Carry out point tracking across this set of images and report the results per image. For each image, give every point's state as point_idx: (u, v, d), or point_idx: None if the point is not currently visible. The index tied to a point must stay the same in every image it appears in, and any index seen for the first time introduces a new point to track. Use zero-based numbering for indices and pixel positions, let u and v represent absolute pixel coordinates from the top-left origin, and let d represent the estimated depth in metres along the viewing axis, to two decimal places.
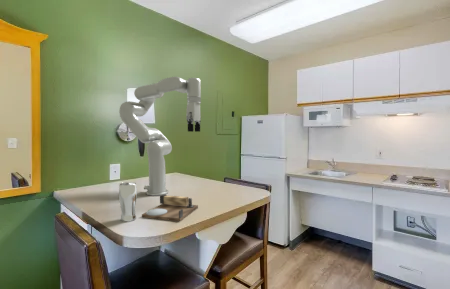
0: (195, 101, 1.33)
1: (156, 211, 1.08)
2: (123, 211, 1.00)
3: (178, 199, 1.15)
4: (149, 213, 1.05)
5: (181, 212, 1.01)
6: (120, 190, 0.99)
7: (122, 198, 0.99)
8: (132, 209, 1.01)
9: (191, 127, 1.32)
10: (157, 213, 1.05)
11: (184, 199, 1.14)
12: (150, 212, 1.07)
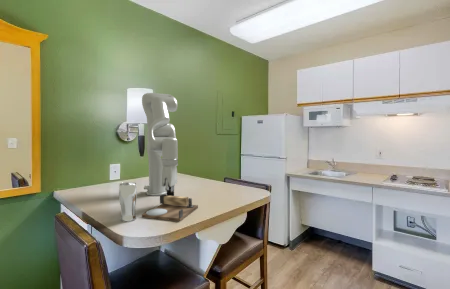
0: (172, 165, 1.17)
1: (156, 211, 1.08)
2: (123, 211, 1.00)
3: (178, 199, 1.15)
4: (149, 213, 1.05)
5: (181, 212, 1.01)
6: (120, 190, 0.99)
7: (122, 198, 0.99)
8: (132, 209, 1.01)
9: (171, 195, 1.20)
10: (157, 213, 1.05)
11: (184, 199, 1.14)
12: (150, 212, 1.07)
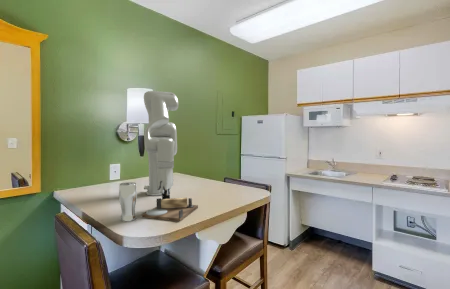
0: (167, 167, 1.12)
1: (156, 211, 1.08)
2: (123, 211, 1.00)
3: (178, 201, 1.12)
4: (149, 213, 1.05)
5: (181, 212, 1.01)
6: (120, 190, 0.99)
7: (122, 198, 0.99)
8: (132, 209, 1.01)
9: None
10: (157, 213, 1.05)
11: (185, 200, 1.13)
12: (150, 212, 1.07)
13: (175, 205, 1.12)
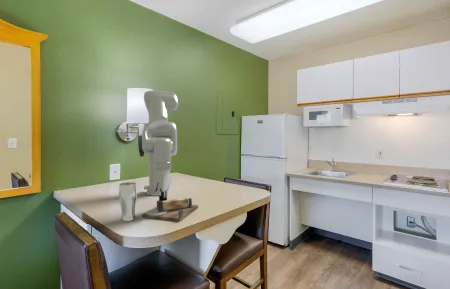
0: (164, 168, 1.08)
1: (156, 211, 1.08)
2: (123, 211, 1.00)
3: (179, 201, 1.11)
4: (149, 213, 1.05)
5: (181, 212, 1.01)
6: (120, 190, 0.99)
7: (122, 198, 0.99)
8: (132, 209, 1.01)
9: None
10: (157, 213, 1.05)
11: (186, 200, 1.13)
12: (150, 212, 1.07)
13: (176, 206, 1.11)
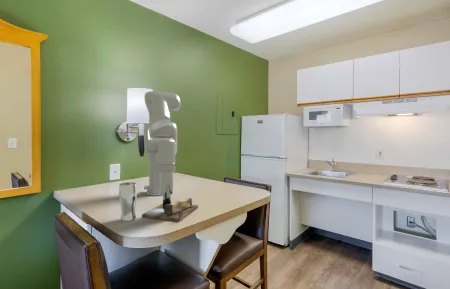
0: (172, 170, 1.04)
1: (156, 211, 1.08)
2: (123, 211, 1.00)
3: (184, 202, 1.10)
4: (149, 213, 1.05)
5: (181, 212, 1.01)
6: (120, 190, 0.99)
7: (122, 198, 0.99)
8: (132, 209, 1.01)
9: None
10: (157, 213, 1.05)
11: (189, 200, 1.12)
12: (150, 212, 1.07)
13: (182, 207, 1.09)
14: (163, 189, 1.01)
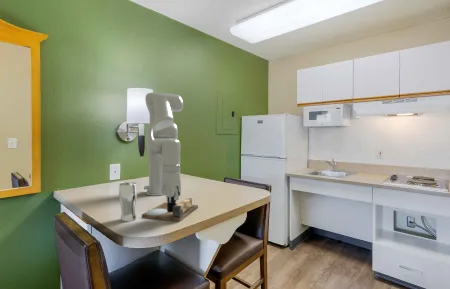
0: (179, 170, 1.02)
1: (156, 211, 1.08)
2: (123, 211, 1.00)
3: (188, 203, 1.09)
4: (149, 213, 1.05)
5: (181, 212, 1.01)
6: (120, 190, 0.99)
7: (122, 198, 0.99)
8: (132, 209, 1.01)
9: None
10: (157, 213, 1.05)
11: (190, 200, 1.12)
12: (150, 212, 1.07)
13: (186, 208, 1.08)
14: (172, 191, 0.99)
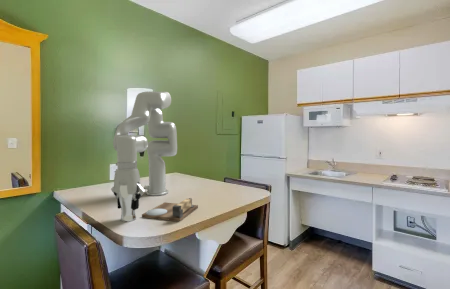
0: (136, 167, 1.02)
1: (156, 211, 1.08)
2: (123, 211, 1.00)
3: (188, 203, 1.09)
4: (149, 213, 1.05)
5: (181, 212, 1.01)
6: (120, 190, 0.99)
7: (122, 198, 0.99)
8: (132, 209, 1.01)
9: None
10: (157, 213, 1.05)
11: (190, 200, 1.12)
12: (150, 212, 1.07)
13: (186, 208, 1.08)
14: (135, 187, 0.98)
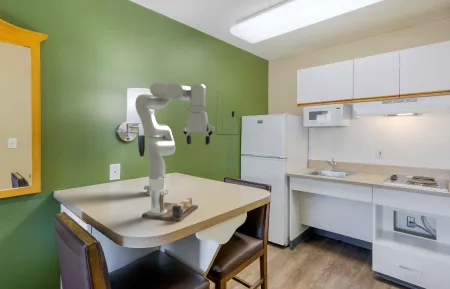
0: None
1: None
2: (153, 204, 1.05)
3: (188, 203, 1.09)
4: (149, 213, 1.05)
5: (181, 212, 1.01)
6: (151, 184, 1.04)
7: (153, 191, 1.04)
8: (161, 202, 1.06)
9: None
10: None
11: (190, 200, 1.12)
12: (150, 212, 1.07)
13: (186, 208, 1.08)
14: (206, 126, 1.19)
